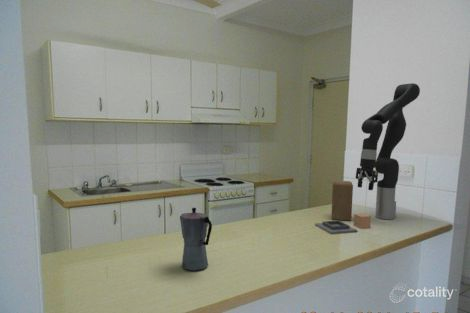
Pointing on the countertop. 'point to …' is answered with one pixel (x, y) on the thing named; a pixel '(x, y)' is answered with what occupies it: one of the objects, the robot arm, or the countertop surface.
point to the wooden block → (342, 200)
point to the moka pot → (195, 239)
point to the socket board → (335, 227)
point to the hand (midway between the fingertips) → (364, 188)
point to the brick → (362, 221)
